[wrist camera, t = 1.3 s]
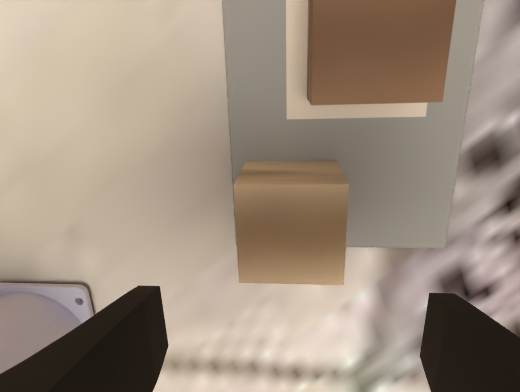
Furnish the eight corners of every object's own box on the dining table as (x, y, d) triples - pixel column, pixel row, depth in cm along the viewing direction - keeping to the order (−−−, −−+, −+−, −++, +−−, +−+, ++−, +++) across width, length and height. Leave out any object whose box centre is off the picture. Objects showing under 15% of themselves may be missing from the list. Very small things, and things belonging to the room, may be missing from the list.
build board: (439, 243, 19) (445, 249, 18) (238, 240, 20) (236, 246, 19) (487, -67, 14) (497, -74, 14) (221, -49, 15) (218, -55, 15)
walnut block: (406, 95, 16) (442, 102, 12) (306, 98, 16) (311, 105, 12) (418, -18, 14) (463, -51, 11) (308, -12, 15) (313, -42, 11)
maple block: (333, 242, 19) (343, 285, 15) (249, 241, 19) (239, 282, 15) (336, 160, 17) (349, 184, 13) (246, 161, 18) (233, 184, 14)
